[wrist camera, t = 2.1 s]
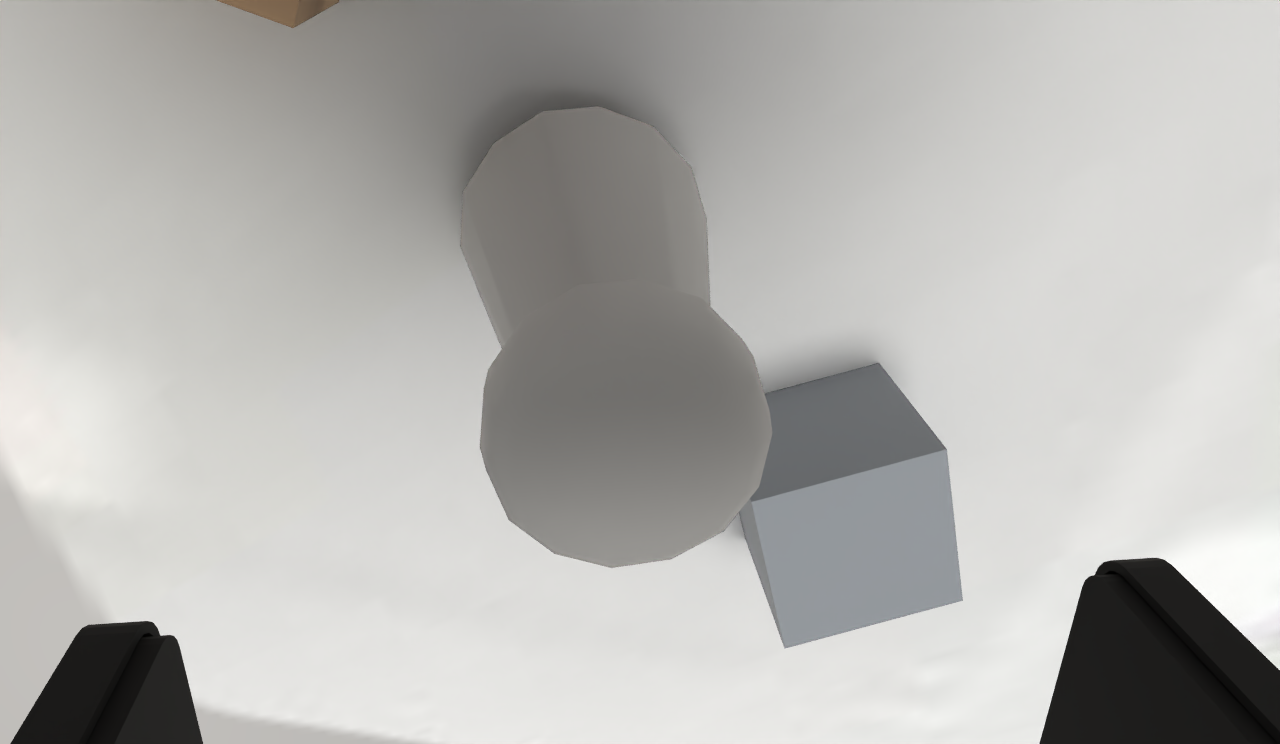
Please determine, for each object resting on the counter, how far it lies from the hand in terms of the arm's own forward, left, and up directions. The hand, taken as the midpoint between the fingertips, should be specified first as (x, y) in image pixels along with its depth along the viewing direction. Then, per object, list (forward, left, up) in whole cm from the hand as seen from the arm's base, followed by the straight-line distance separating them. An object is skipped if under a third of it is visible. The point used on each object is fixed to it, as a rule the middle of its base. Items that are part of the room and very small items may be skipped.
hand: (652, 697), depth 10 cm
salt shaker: (0, 0, -17) cm, 17 cm away
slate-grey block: (+8, +7, -17) cm, 20 cm away
